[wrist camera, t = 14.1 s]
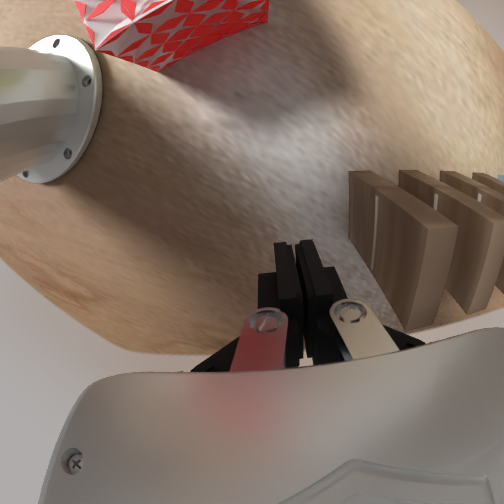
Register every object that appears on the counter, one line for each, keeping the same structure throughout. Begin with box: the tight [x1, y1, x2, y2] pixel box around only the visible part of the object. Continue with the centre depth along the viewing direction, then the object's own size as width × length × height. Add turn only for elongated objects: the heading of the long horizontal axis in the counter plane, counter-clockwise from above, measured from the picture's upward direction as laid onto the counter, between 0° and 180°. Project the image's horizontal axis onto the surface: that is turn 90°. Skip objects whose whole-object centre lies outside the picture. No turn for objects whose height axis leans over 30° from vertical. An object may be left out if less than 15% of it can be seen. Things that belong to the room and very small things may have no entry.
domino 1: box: [349, 171, 458, 331], centre depth 14 cm, size 2×5×10 cm, turn 7°
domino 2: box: [399, 170, 504, 315], centre depth 13 cm, size 2×5×10 cm, turn 7°
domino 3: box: [440, 171, 504, 294], centre depth 13 cm, size 2×5×10 cm, turn 7°
